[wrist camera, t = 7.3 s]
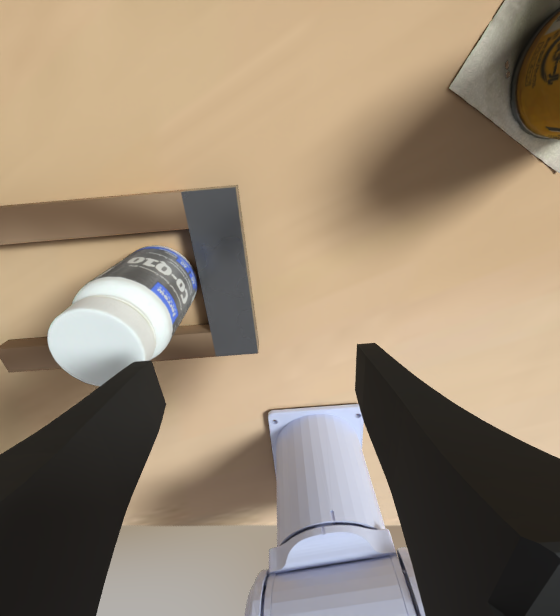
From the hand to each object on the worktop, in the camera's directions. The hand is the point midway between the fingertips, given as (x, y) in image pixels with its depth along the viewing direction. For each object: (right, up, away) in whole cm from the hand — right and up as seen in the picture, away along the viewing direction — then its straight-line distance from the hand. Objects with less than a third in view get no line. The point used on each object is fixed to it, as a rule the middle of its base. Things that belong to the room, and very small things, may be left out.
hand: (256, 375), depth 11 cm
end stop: (-3, +4, +9) cm, 11 cm away
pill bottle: (-7, +4, +10) cm, 13 cm away
